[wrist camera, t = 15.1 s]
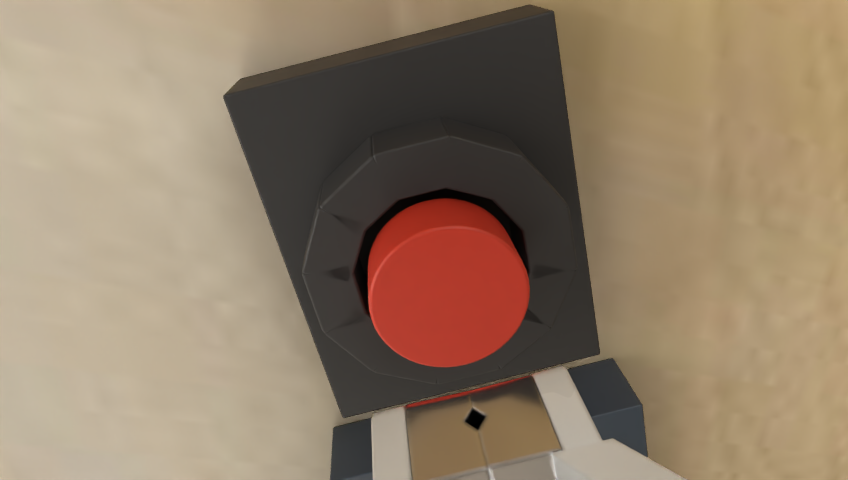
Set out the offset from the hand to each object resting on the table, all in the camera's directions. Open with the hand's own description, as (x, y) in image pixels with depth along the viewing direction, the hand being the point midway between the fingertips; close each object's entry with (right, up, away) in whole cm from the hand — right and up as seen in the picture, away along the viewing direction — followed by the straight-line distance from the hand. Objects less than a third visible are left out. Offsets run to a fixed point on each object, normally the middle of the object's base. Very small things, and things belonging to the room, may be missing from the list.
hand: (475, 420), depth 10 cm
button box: (-1, +4, +9) cm, 10 cm away
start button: (0, +2, +6) cm, 6 cm away
